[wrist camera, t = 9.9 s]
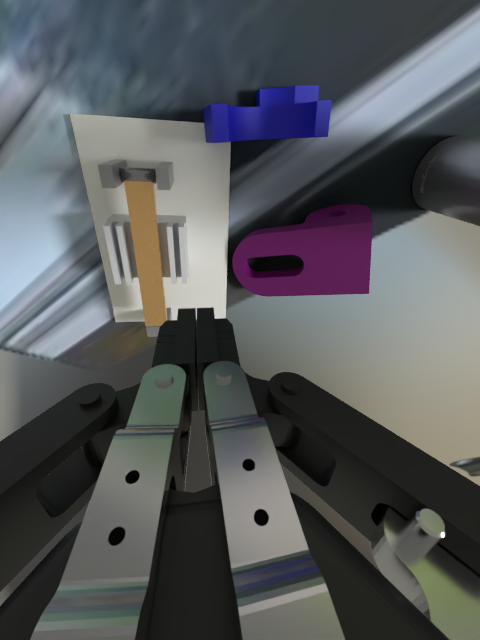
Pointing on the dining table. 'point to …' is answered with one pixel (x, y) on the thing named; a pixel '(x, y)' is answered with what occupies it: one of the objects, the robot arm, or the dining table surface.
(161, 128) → the board
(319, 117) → the cable clip
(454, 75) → the dining table surface
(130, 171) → the wooden strip
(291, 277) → the mounting bracket
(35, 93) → the dining table surface
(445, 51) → the dining table surface
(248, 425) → the robot arm
